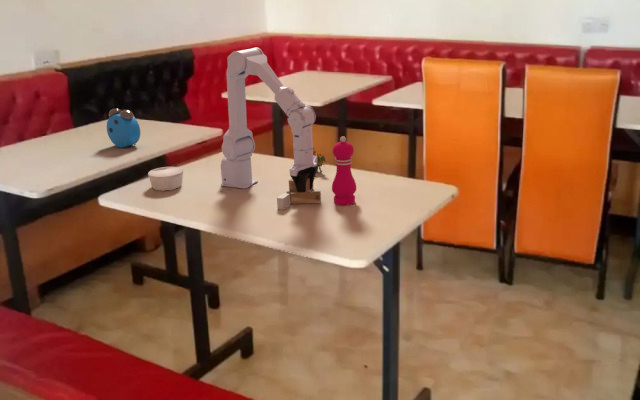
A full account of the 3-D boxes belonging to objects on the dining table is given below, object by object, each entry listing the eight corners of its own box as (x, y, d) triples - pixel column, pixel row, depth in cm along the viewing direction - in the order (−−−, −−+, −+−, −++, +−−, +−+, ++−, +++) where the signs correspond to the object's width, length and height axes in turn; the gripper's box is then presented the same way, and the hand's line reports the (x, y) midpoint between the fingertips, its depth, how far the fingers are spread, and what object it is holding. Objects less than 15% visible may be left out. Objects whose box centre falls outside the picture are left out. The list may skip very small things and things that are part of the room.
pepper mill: (349, 207, 195) (347, 140, 188) (327, 203, 198) (325, 138, 191) (361, 200, 200) (360, 134, 194) (340, 196, 204) (338, 132, 197)
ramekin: (172, 179, 226) (170, 164, 225) (191, 186, 219) (190, 170, 217) (143, 187, 219) (141, 172, 217) (161, 194, 212) (159, 179, 210)
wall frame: (277, 209, 196) (276, 196, 194) (307, 187, 213) (307, 176, 211) (283, 209, 195) (282, 197, 194) (313, 188, 212) (313, 176, 211)
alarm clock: (142, 146, 267) (138, 109, 262) (131, 150, 262) (125, 112, 257) (120, 142, 274) (115, 106, 268) (108, 146, 269) (102, 109, 264)
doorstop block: (289, 199, 203) (288, 180, 201) (295, 195, 207) (294, 176, 204) (304, 201, 201) (303, 182, 199) (310, 196, 204) (309, 178, 202)
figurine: (322, 175, 224) (321, 151, 222) (299, 167, 233) (297, 145, 230) (329, 172, 226) (328, 149, 223) (305, 165, 235) (304, 143, 232)
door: (291, 202, 200) (290, 192, 199) (320, 201, 200) (320, 191, 199) (291, 204, 198) (290, 194, 197) (321, 203, 198) (320, 193, 197)
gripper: (304, 156, 190) (306, 201, 195) (325, 142, 202) (327, 185, 207) (282, 153, 193) (284, 198, 197) (304, 141, 205) (306, 183, 210)
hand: (305, 191), depth 202 cm, fingers closed on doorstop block, 4 cm apart
